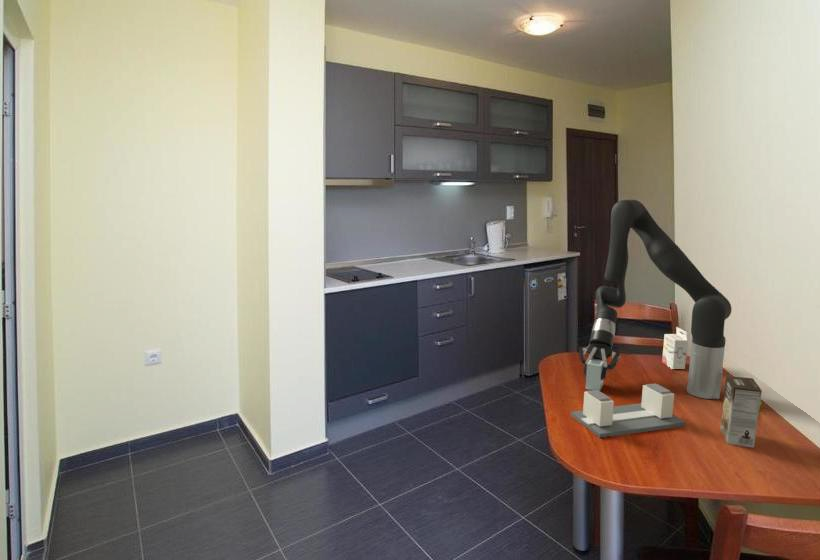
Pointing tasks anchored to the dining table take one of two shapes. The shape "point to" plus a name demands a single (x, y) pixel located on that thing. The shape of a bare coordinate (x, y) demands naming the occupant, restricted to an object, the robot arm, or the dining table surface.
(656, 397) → the module
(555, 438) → the dining table surface
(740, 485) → the dining table surface
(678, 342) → the ink cartridge box
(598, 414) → the module
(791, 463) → the dining table surface
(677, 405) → the dining table surface
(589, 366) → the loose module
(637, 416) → the mounting board
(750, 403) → the coffee box
